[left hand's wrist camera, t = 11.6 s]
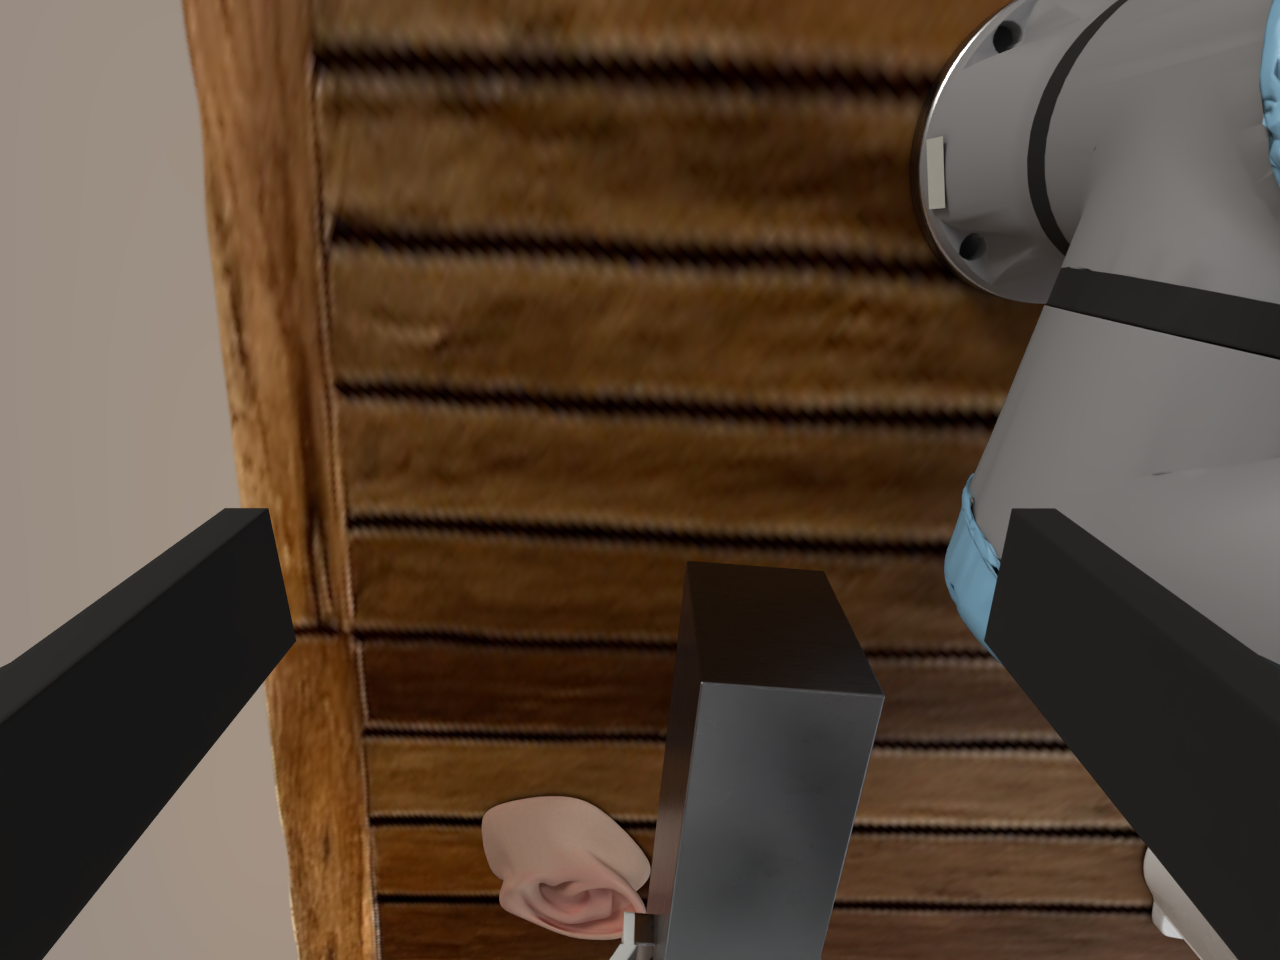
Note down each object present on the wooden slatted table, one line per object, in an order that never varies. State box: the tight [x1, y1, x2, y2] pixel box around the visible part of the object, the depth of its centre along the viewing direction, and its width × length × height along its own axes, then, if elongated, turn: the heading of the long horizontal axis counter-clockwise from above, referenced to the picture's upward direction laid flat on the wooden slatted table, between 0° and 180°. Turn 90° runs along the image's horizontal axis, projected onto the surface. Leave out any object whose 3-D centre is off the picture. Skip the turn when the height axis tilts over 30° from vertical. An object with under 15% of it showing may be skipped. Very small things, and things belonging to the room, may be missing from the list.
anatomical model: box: [482, 796, 651, 940], centre depth 53 cm, size 13×4×12 cm
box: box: [646, 561, 885, 960], centre depth 30 cm, size 22×6×8 cm, turn 176°
